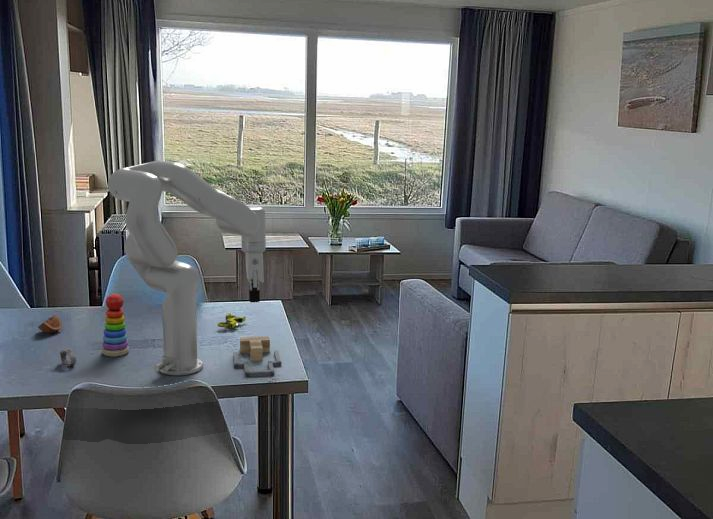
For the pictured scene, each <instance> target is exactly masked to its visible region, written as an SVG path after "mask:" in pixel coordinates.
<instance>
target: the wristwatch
mask: <svg viewBox="0 0 713 519" xmlns="http://www.w3.org/2000/svg"><path fill="white" fill-rule="evenodd" d="M59 355H60V356H59V357H60V360H61V363H62V365H64V364H65V366H66V365H67V366H66V367H68V366H69V367H72V365H73V366H75V365H76V363H77V359H76V358H77V357H76V356H75V355H74V352H73V349H72V348H70V347H68V348H64V349H63V350H61V351H59ZM67 356H68V358H69V360H70V362H69V361H68V360H67Z"/></svg>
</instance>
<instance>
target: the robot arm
mask: <svg viewBox="0 0 713 519" xmlns="http://www.w3.org/2000/svg"><path fill="white" fill-rule="evenodd" d="M107 181H108V182H107V189H108V191H109V193H110V194H111V195H112V196H113V197H114V198H115V199H117V200H119V201H123V202H128V206H127V210H126V213H125V226H126V229H127V231H128V232H129V234H128V236H127V237H126V239H125V240H124V251H125V252H124V253H125V255H126V257H127V259H128V261H129V262H130V264H131V265H132V267H133V268H134V270H135V271H136V272H137V274H138V275H139V276H140V278H141V279H142V281H143V282H144V283H145V285H147V286H148V287H149V288H151V289H153V290H157V291H160V292H162V293H166V297H165V299H164V301H163V304H162V308H161V312H162V313H161V316H162V317H161V318H162V346H163V356H161V360H160V361H159V363H157V364H155V365H154V366H153V369H154V371H155V372H160V373H162V374H164V375H169V376H186V375H191V374H194V373H197V372H199V371H201V370H202V369H203V366H204V363H203V361H202V360H201V359H200V358H198V331H197V330H198V328H197V324H198V323H197V320H198V319H197V298H198V291H199V286H200V276H199V273H198V270H197V269H196V268H194V266H192V265H190V264H189V263H186V262H183V261H179V260H177V259H178V249H177V246H176V244H175V242H174V241H173V239H172V237H171V236H170V235H169V233H168V232H167V229H166V228H165V226H164V225H163V224H162V222H161V219H160V218H159V215H158V209H159V203H160V200H161V198H162V193H163V192H165V193H169V194H171V195H172V196H174V197H175V198H177V199H178V200H180V201H181V202H182V203H184V204H185V205H187V206H188V207H190V208H191V209H192V210H194V211H196V212H197V213H200V214H202V215H204V216H208V217H212V218H215V224H216V227H217V228H218V229H219V230H220V231H222V232H223V233H224V232H225V233H226V234H233V235H239V236H241V252H244V253H245V270H246V278H247V282H248V283H249V289H248V296H249V299H248V300H249V303H259V302H260V301H261V300H260V299H261V296H260V292H261V291H260V283H262V284H264V282H265V277H264V275H265V274H264V255H263V252H266V251H267V250H266V246H267V244H266V210H265V209H264V207H261V206H258V205H257V206H256V205H250V206H249V205H248V206H247V205H246V204H245V203H243V202H242V201H240V200H238V199H237V198H234V197H233V196H230V195H229V194H227V193H225V192H224V191H222V190H220V189H218V188H216V187H214V186H213V185H211V184H210V183H209V182H207V181H206V180H204V179H203V178H202V177H201V176H199V175H198V174H197V173H195V172H194V171H193V170H191V169H190V168H189V167H187V165H184V164H183V163H181V162H176V161H174V162H173V161H165V160H153V161H149V162H145V163H140V164H136V165H131V166H127V167H123V168H120V169H119V168H118V169H117V170H115V171H114V172H113V173H112V174H111V175H110V177H109V179H108V180H107Z"/></svg>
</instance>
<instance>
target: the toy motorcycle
mask: <svg viewBox="0 0 713 519" xmlns="http://www.w3.org/2000/svg"><path fill="white" fill-rule="evenodd" d="M224 318H225V321H223V322H222V321H220V322H218V323H217V327H219V328H227V327H230V329H233V328H235V327H236V329H237V328H238V327H239V324H240V323H244V322H245V321H246V316H242V317H240V316H236V315H233V314H232V313H231V312H227V313H226V315H225V317H224Z"/></svg>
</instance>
